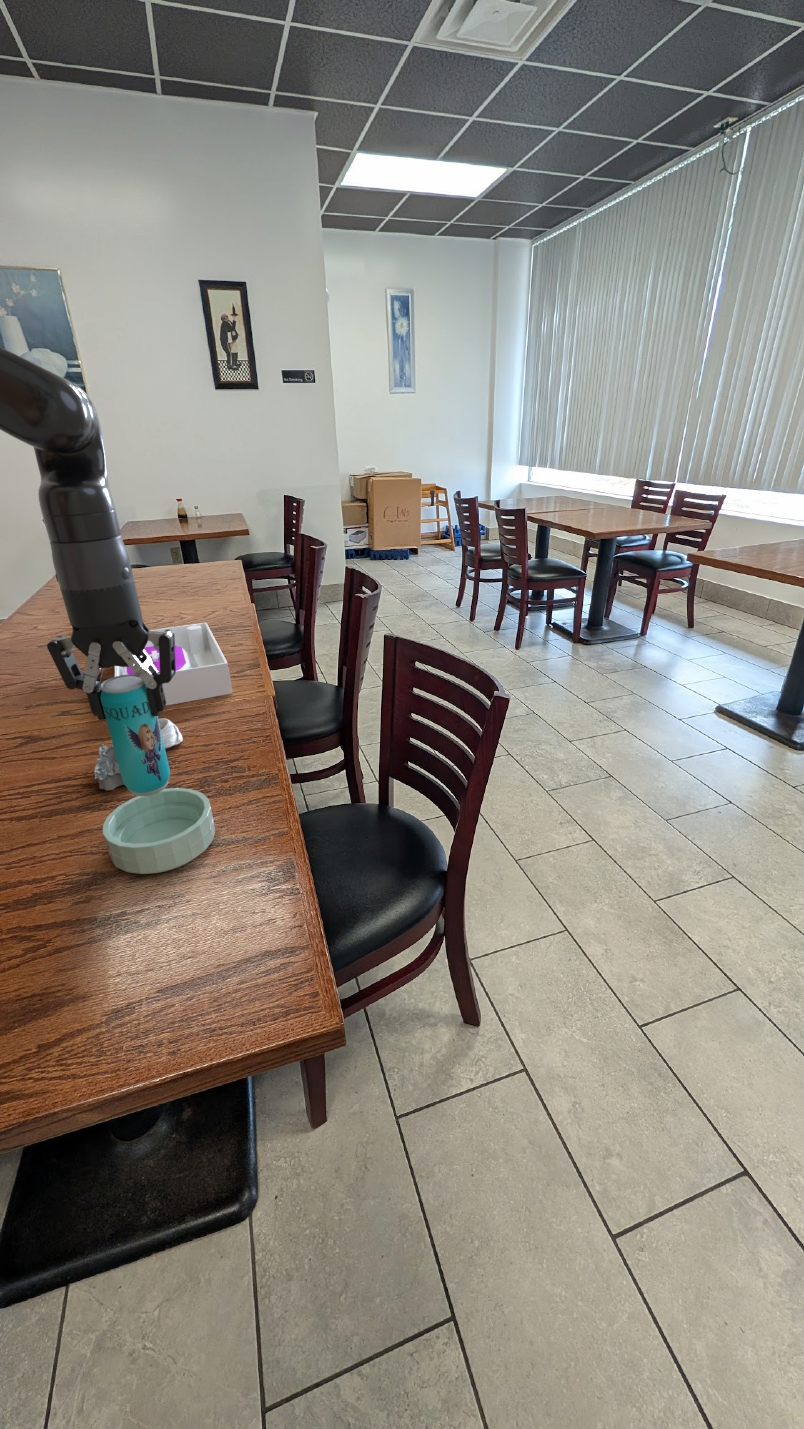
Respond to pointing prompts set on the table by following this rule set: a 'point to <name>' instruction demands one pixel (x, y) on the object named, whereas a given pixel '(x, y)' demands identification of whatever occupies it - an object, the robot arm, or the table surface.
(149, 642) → the white open box
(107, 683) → the beverage can
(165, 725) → the white hollow rounded piece
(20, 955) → the table surface
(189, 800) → the bowl
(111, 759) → the grey sculpture
